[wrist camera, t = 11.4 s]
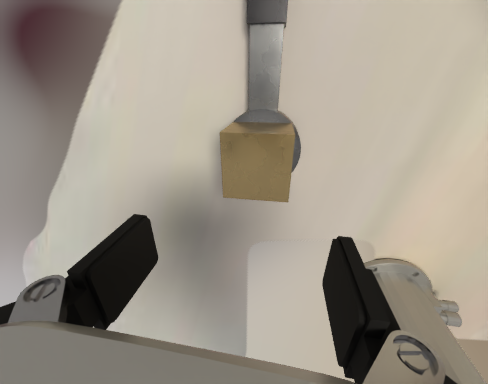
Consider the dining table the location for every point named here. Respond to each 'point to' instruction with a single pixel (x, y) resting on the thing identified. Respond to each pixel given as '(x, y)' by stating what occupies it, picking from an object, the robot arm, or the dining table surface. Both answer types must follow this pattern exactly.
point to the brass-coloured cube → (257, 160)
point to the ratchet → (267, 65)
